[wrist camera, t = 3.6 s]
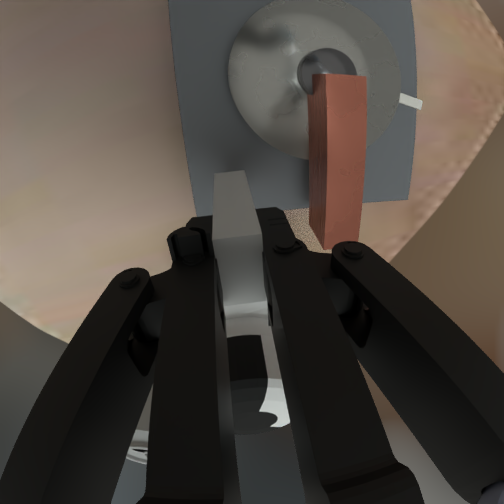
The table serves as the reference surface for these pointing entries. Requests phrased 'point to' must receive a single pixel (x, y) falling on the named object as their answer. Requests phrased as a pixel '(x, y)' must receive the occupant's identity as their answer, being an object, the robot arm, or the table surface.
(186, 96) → the plate
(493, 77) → the table surface
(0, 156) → the table surface
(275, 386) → the container
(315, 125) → the dial
